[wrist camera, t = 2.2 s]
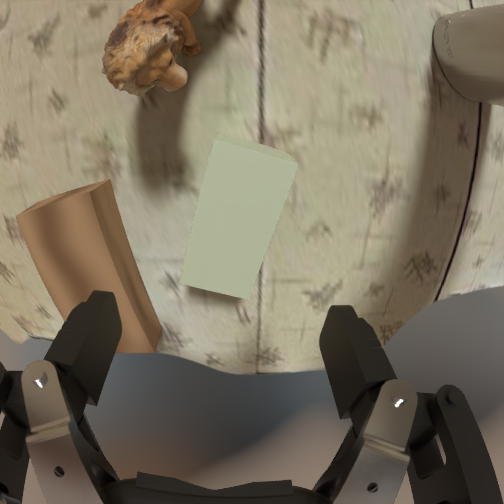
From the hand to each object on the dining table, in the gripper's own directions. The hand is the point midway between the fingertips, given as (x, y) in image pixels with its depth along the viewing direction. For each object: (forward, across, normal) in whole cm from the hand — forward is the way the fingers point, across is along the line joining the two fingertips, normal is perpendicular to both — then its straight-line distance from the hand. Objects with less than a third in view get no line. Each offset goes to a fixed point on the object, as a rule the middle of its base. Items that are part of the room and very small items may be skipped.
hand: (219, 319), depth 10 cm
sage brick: (+13, 0, 0) cm, 13 cm away
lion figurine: (+13, +3, -14) cm, 20 cm away
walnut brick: (+14, +12, +7) cm, 20 cm away
